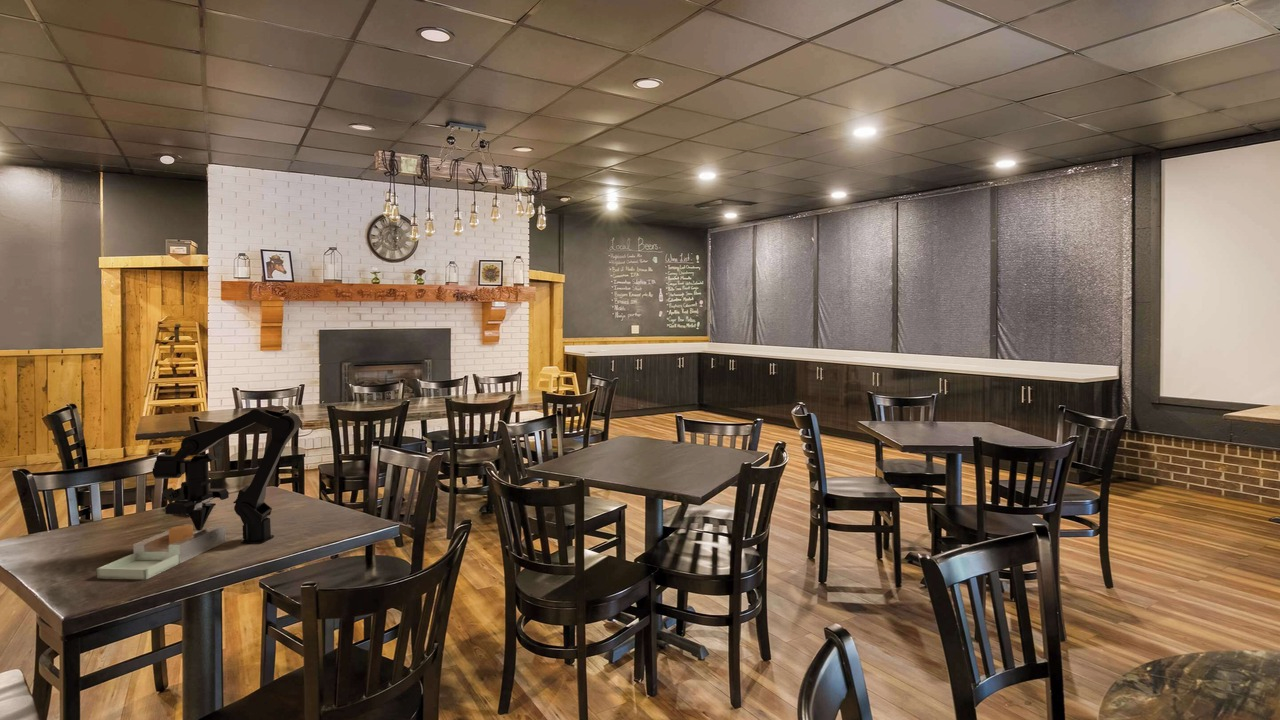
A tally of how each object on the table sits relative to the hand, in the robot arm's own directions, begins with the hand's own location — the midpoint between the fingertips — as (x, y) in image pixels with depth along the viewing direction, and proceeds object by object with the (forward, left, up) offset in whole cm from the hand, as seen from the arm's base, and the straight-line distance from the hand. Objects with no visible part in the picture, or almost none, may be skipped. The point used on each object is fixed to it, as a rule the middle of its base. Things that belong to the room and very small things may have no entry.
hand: (199, 530), depth 197 cm
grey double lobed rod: (+30, -34, -4) cm, 45 cm away
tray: (0, +22, -4) cm, 22 cm away
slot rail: (0, +7, -4) cm, 8 cm away
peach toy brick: (0, +7, -1) cm, 7 cm away
